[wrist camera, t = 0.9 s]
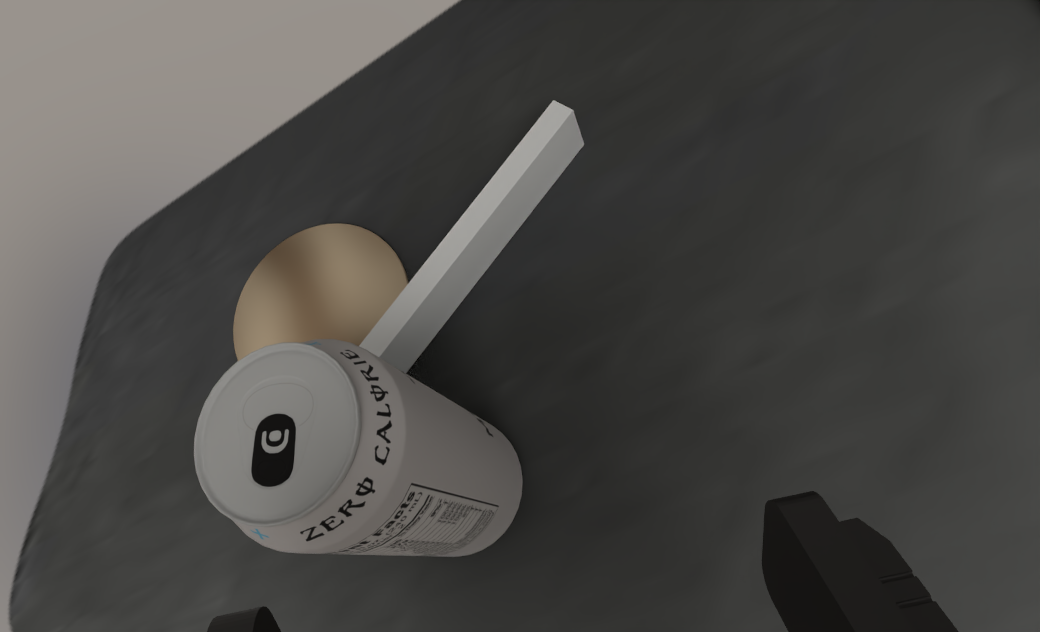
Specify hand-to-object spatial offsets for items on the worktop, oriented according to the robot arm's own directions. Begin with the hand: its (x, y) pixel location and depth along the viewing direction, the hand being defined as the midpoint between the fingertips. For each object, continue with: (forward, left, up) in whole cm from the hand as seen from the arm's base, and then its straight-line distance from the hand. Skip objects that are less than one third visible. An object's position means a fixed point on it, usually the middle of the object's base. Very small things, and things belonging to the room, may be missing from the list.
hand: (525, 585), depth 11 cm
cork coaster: (0, -20, -19) cm, 28 cm away
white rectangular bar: (-4, -15, -19) cm, 25 cm away
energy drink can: (+2, -8, -19) cm, 21 cm away
